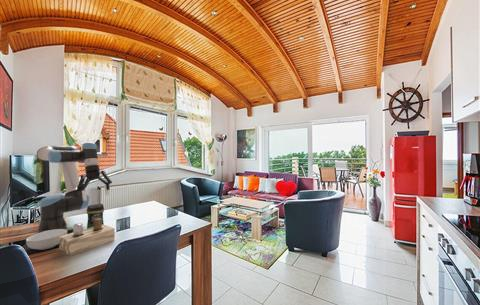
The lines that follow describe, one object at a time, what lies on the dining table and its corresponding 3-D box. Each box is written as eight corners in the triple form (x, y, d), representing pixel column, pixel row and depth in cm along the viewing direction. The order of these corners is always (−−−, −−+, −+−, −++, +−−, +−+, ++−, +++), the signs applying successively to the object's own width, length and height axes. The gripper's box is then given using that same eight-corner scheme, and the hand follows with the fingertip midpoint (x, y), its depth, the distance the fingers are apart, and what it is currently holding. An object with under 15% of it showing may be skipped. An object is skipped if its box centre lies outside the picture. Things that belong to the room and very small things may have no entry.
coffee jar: (86, 236, 130) (86, 207, 130) (86, 232, 137) (85, 204, 136) (105, 232, 137) (104, 204, 136) (103, 228, 143) (103, 202, 143)
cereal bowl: (63, 237, 128) (63, 226, 128) (70, 245, 118) (70, 233, 118) (24, 247, 115) (24, 235, 115) (27, 257, 105) (27, 243, 105)
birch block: (59, 249, 113) (59, 236, 113) (102, 235, 132) (102, 224, 132) (70, 255, 106) (70, 242, 106) (114, 239, 125) (114, 228, 125)
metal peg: (72, 237, 114) (72, 225, 114) (80, 235, 117) (80, 222, 117) (75, 239, 112) (75, 226, 112) (83, 236, 115) (83, 224, 115)
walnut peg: (92, 231, 123) (92, 219, 123) (99, 229, 126) (99, 217, 126) (95, 232, 121) (95, 220, 120) (103, 230, 124) (103, 218, 124)
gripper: (67, 169, 129) (71, 203, 126) (108, 160, 133) (113, 192, 129) (75, 170, 137) (79, 202, 133) (114, 162, 140) (119, 192, 137)
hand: (96, 197), depth 131 cm, fingers open, 13 cm apart
